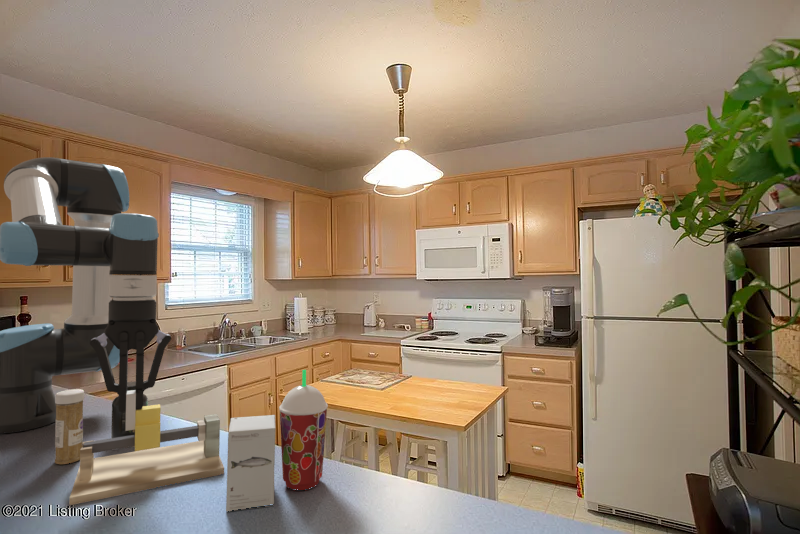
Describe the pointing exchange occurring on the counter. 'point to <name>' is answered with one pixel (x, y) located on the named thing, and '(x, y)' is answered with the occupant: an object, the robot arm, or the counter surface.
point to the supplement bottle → (122, 415)
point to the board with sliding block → (149, 466)
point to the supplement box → (250, 462)
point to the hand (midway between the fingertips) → (130, 427)
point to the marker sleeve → (147, 427)
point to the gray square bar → (130, 440)
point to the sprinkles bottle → (68, 425)
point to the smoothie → (303, 435)
